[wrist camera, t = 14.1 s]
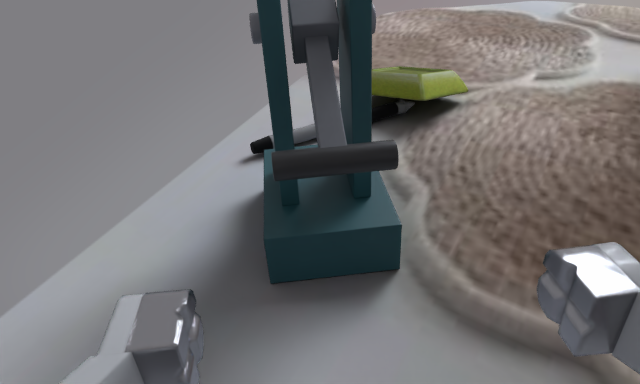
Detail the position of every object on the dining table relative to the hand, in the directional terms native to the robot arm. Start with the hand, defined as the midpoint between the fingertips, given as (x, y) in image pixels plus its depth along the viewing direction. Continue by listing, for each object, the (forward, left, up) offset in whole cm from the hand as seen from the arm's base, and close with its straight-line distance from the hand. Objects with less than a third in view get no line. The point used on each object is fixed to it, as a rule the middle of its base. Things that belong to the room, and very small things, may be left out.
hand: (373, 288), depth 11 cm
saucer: (-10, -34, -6) cm, 36 cm away
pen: (+5, -29, -10) cm, 31 cm away
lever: (0, -13, 0) cm, 13 cm away
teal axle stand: (0, -16, -9) cm, 18 cm away
